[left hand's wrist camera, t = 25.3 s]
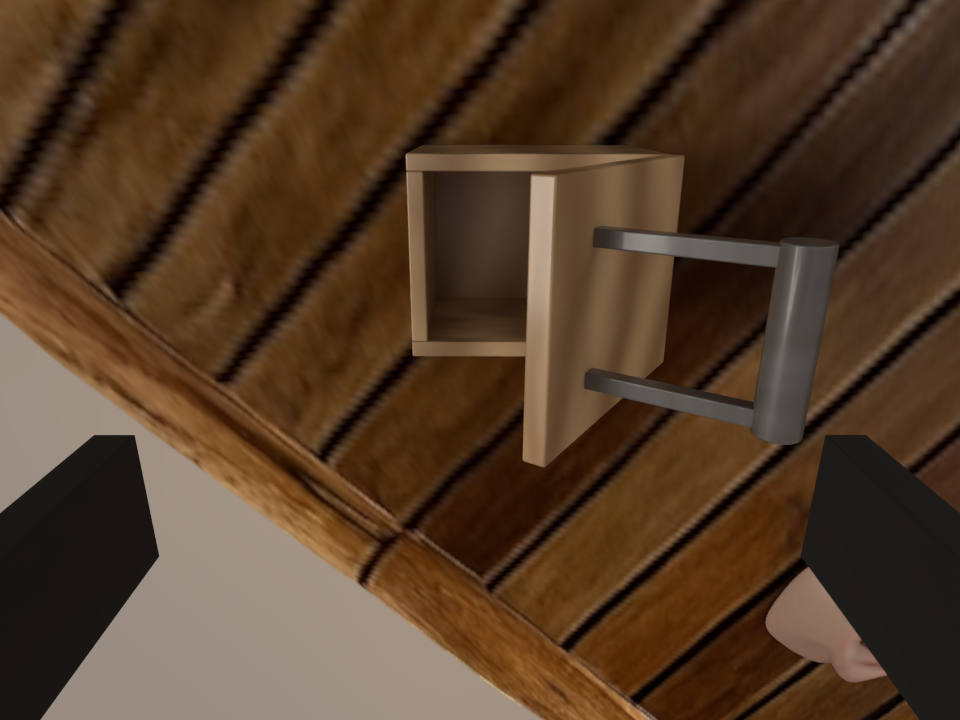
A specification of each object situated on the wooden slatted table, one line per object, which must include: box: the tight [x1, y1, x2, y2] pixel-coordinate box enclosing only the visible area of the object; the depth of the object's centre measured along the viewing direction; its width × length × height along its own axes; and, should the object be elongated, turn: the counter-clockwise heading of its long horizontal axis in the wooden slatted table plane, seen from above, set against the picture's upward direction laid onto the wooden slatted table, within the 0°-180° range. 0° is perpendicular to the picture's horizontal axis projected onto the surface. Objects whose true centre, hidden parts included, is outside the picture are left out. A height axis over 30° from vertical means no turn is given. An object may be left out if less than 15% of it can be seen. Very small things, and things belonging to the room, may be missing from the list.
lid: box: [523, 155, 839, 467], centre depth 25 cm, size 13×10×9 cm
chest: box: [406, 145, 671, 356], centre depth 38 cm, size 13×10×10 cm
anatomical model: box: [766, 567, 887, 682], centre depth 50 cm, size 13×4×12 cm
